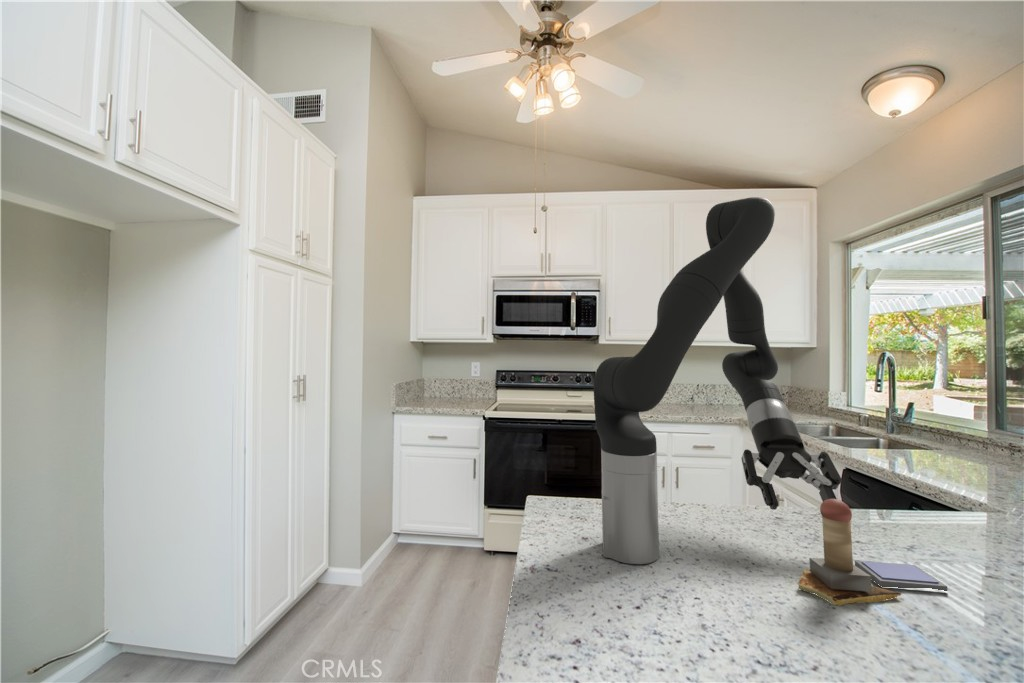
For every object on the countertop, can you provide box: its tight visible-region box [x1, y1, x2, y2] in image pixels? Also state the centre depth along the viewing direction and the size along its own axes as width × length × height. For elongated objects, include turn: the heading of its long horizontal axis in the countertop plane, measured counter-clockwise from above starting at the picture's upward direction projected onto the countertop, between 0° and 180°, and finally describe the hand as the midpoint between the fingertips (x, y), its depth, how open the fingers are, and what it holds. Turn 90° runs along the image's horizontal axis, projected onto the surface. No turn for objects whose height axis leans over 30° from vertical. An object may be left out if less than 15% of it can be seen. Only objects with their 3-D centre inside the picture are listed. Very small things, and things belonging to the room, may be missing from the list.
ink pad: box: [854, 560, 949, 591], centre depth 61 cm, size 8×6×1 cm
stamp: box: [808, 498, 873, 592], centre depth 59 cm, size 5×5×11 cm
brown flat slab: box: [797, 568, 902, 606], centre depth 57 cm, size 11×8×2 cm
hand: (803, 509), depth 69 cm, fingers open, 8 cm apart
